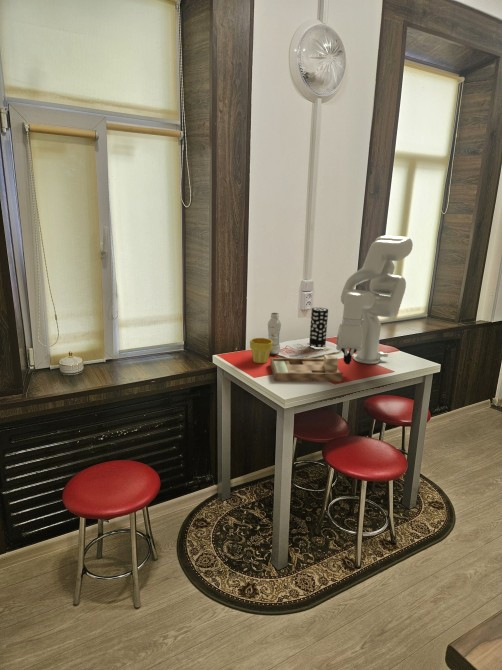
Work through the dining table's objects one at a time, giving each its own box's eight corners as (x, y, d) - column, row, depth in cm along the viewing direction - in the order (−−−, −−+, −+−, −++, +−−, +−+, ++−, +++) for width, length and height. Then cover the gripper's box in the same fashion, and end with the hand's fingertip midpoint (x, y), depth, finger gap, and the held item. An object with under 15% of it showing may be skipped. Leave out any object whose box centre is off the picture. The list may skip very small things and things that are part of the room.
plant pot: (272, 358, 207) (273, 338, 204) (270, 365, 197) (271, 344, 194) (250, 356, 208) (251, 336, 205) (248, 363, 198) (248, 343, 195)
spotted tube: (307, 344, 229) (309, 307, 223) (322, 344, 230) (325, 307, 224) (311, 349, 221) (313, 311, 215) (327, 349, 222) (330, 311, 216)
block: (334, 365, 192) (335, 354, 190) (337, 369, 187) (338, 358, 186) (323, 365, 191) (324, 354, 190) (325, 369, 187) (326, 358, 185)
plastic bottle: (270, 356, 209) (272, 315, 204) (264, 352, 215) (265, 312, 210) (282, 354, 212) (284, 314, 206) (275, 350, 218) (277, 311, 212)
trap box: (331, 365, 199) (332, 358, 198) (342, 381, 181) (342, 373, 180) (270, 365, 197) (270, 357, 196) (274, 380, 179) (275, 373, 178)
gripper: (366, 320, 188) (361, 361, 193) (331, 319, 187) (327, 360, 192) (371, 324, 181) (366, 366, 185) (336, 323, 180) (332, 365, 184)
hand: (347, 363), depth 188 cm, fingers closed
